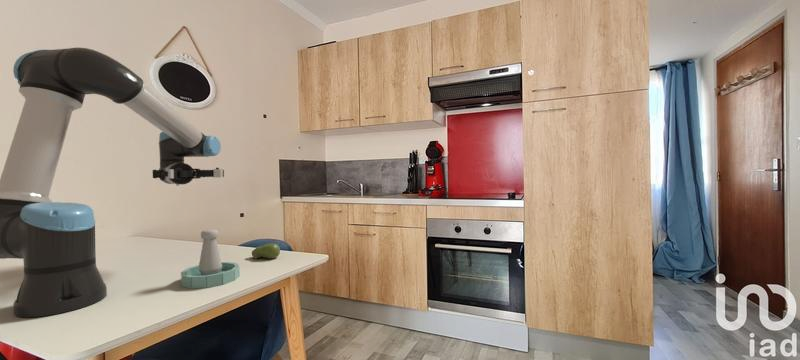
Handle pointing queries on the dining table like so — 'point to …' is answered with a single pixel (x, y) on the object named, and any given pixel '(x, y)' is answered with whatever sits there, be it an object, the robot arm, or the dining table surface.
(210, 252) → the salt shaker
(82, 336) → the dining table surface
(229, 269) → the dish
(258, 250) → the pear
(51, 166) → the robot arm
